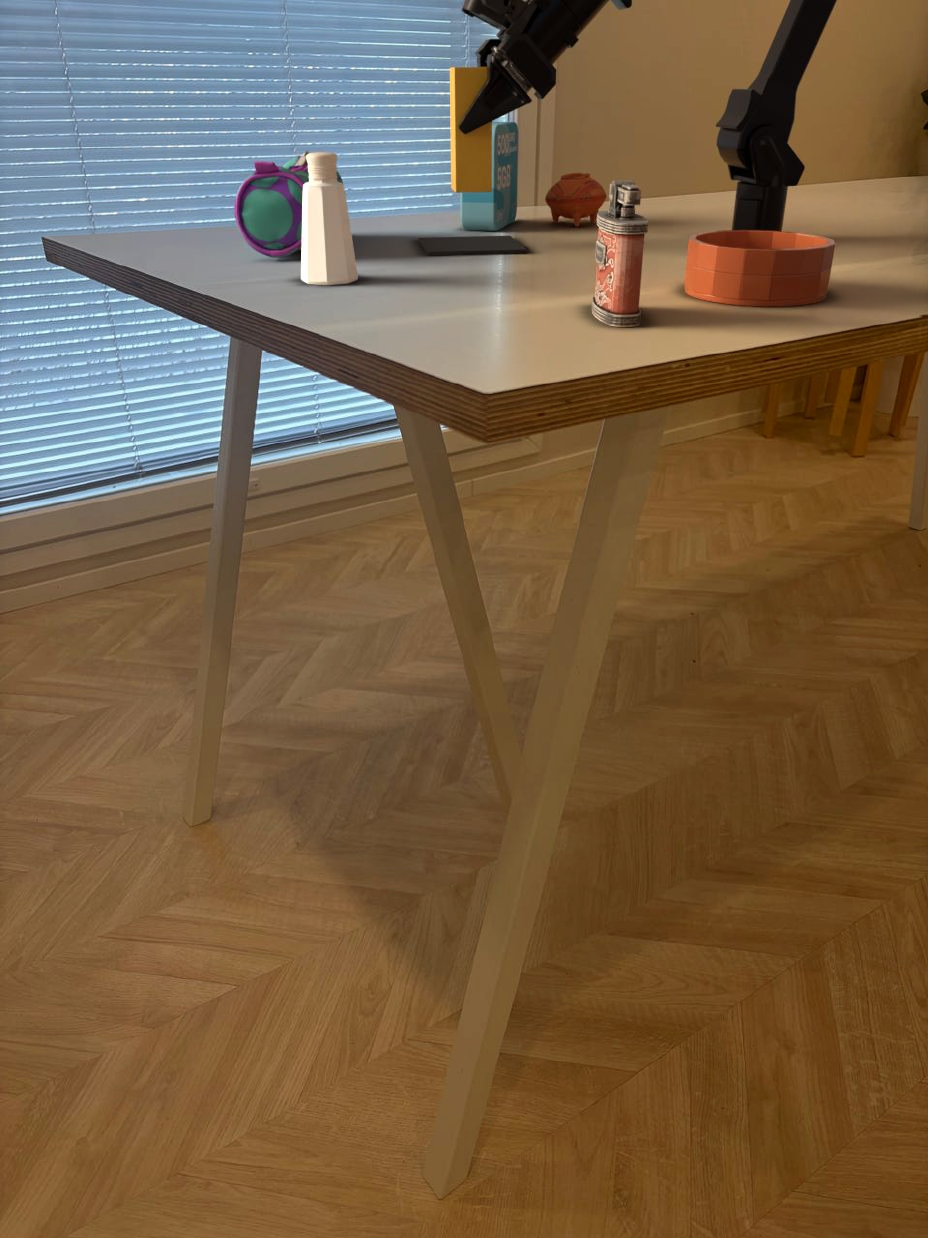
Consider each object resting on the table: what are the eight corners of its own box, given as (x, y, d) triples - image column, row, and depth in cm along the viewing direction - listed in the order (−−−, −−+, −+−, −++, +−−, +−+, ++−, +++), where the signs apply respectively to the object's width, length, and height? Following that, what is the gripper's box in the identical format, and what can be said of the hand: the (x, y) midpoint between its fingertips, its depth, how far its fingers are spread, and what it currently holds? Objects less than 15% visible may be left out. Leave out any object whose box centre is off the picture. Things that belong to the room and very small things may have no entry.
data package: (494, 232, 123) (496, 124, 118) (460, 231, 125) (459, 124, 119) (517, 220, 134) (519, 121, 128) (484, 219, 135) (485, 120, 129)
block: (486, 188, 112) (486, 66, 106) (491, 191, 109) (492, 66, 103) (451, 188, 112) (449, 67, 106) (455, 192, 108) (454, 66, 103)
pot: (615, 224, 127) (606, 168, 124) (555, 240, 128) (545, 185, 124) (605, 214, 134) (596, 161, 130) (548, 230, 135) (538, 177, 131)
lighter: (584, 306, 83) (591, 176, 79) (624, 305, 84) (633, 176, 79) (604, 327, 76) (613, 186, 72) (648, 326, 77) (660, 185, 72)
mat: (418, 240, 117) (418, 237, 117) (509, 238, 119) (509, 235, 118) (427, 255, 108) (427, 251, 108) (527, 252, 109) (527, 249, 109)
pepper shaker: (326, 287, 91) (317, 155, 86) (289, 280, 95) (278, 153, 89) (369, 279, 95) (364, 152, 90) (332, 273, 98) (325, 150, 93)
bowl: (719, 275, 96) (725, 226, 94) (845, 289, 89) (854, 236, 87) (660, 295, 87) (665, 241, 85) (794, 312, 81) (803, 254, 79)
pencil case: (276, 234, 123) (268, 148, 118) (347, 234, 122) (342, 148, 118) (235, 261, 104) (225, 161, 100) (319, 261, 104) (312, 161, 99)
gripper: (494, -46, 108) (397, 70, 112) (526, -69, 92) (411, 69, 96) (562, 37, 113) (467, 146, 117) (604, 30, 96) (491, 157, 100)
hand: (458, 129), depth 107 cm, fingers closed on block, 4 cm apart
